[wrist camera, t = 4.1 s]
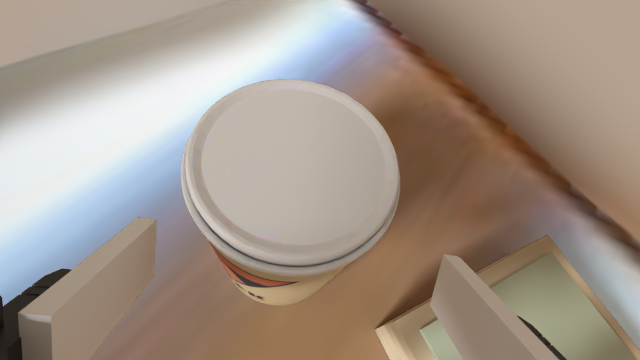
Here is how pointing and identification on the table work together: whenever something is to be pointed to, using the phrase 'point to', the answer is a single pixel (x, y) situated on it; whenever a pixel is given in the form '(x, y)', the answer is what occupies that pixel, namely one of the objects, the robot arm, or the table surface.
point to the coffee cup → (289, 185)
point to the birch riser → (523, 311)
